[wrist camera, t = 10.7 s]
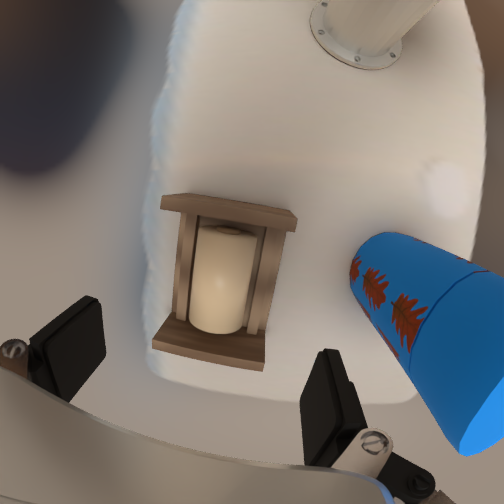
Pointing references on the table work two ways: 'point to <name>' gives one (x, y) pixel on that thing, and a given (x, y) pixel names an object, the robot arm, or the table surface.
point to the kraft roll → (221, 278)
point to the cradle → (260, 287)
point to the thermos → (439, 331)
